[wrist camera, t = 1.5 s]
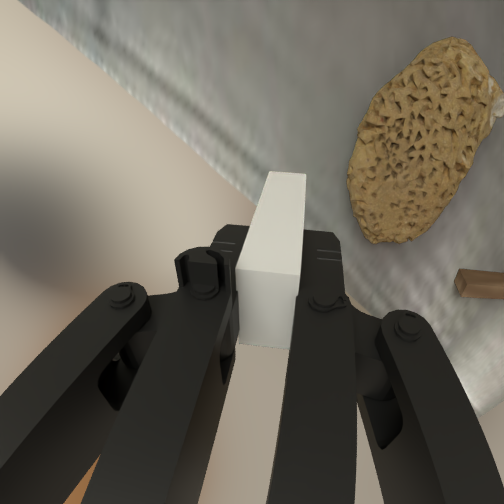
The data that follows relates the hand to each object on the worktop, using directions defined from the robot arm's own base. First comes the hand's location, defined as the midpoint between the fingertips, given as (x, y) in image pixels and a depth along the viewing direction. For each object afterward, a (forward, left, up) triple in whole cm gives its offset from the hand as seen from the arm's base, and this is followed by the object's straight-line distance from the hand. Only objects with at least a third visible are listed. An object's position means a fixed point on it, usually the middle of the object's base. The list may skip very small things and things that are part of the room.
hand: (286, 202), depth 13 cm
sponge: (0, +11, -18) cm, 22 cm away
